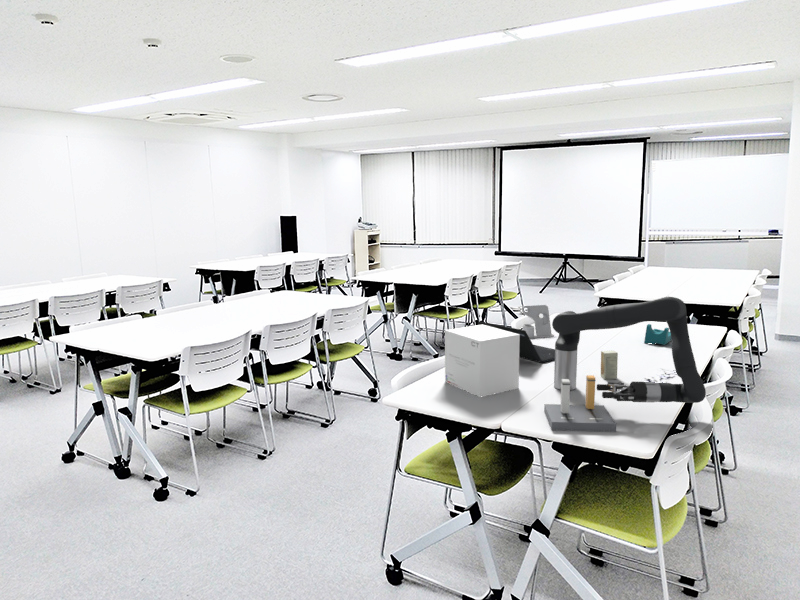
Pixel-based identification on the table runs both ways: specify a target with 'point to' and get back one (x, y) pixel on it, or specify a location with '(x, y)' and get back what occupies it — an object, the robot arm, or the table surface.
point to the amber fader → (590, 391)
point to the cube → (482, 359)
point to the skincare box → (609, 364)
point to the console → (579, 418)
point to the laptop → (527, 345)
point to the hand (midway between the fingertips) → (599, 391)
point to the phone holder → (538, 321)
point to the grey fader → (565, 395)
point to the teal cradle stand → (657, 335)
